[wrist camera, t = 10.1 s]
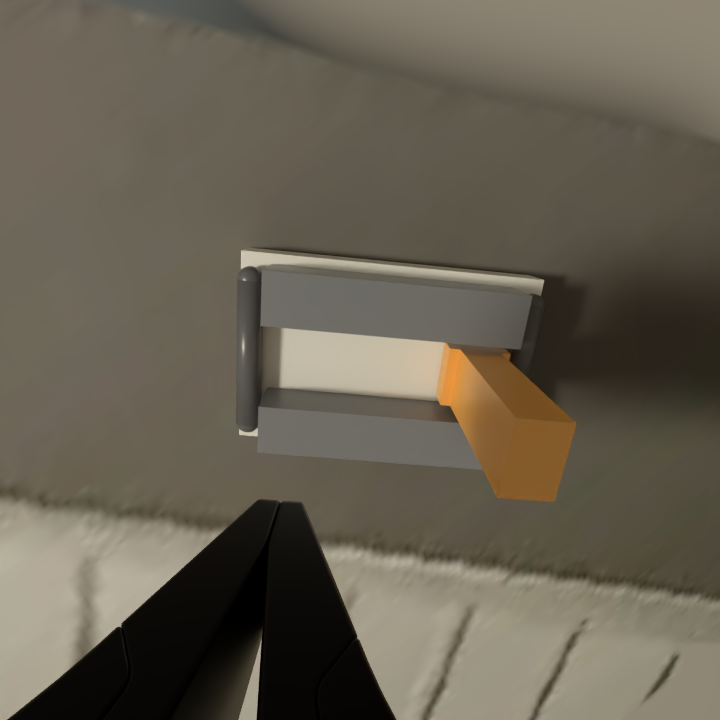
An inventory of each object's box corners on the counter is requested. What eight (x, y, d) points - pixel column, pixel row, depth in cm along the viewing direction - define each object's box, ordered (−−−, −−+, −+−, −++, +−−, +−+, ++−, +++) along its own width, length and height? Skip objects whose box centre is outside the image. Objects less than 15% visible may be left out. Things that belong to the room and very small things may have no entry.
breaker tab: (502, 346, 18) (591, 424, 11) (491, 399, 18) (568, 502, 12) (444, 341, 18) (500, 416, 11) (435, 395, 18) (482, 497, 12)
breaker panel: (529, 275, 19) (568, 288, 15) (493, 439, 21) (520, 481, 18) (249, 247, 18) (226, 254, 15) (247, 419, 21) (226, 458, 17)
